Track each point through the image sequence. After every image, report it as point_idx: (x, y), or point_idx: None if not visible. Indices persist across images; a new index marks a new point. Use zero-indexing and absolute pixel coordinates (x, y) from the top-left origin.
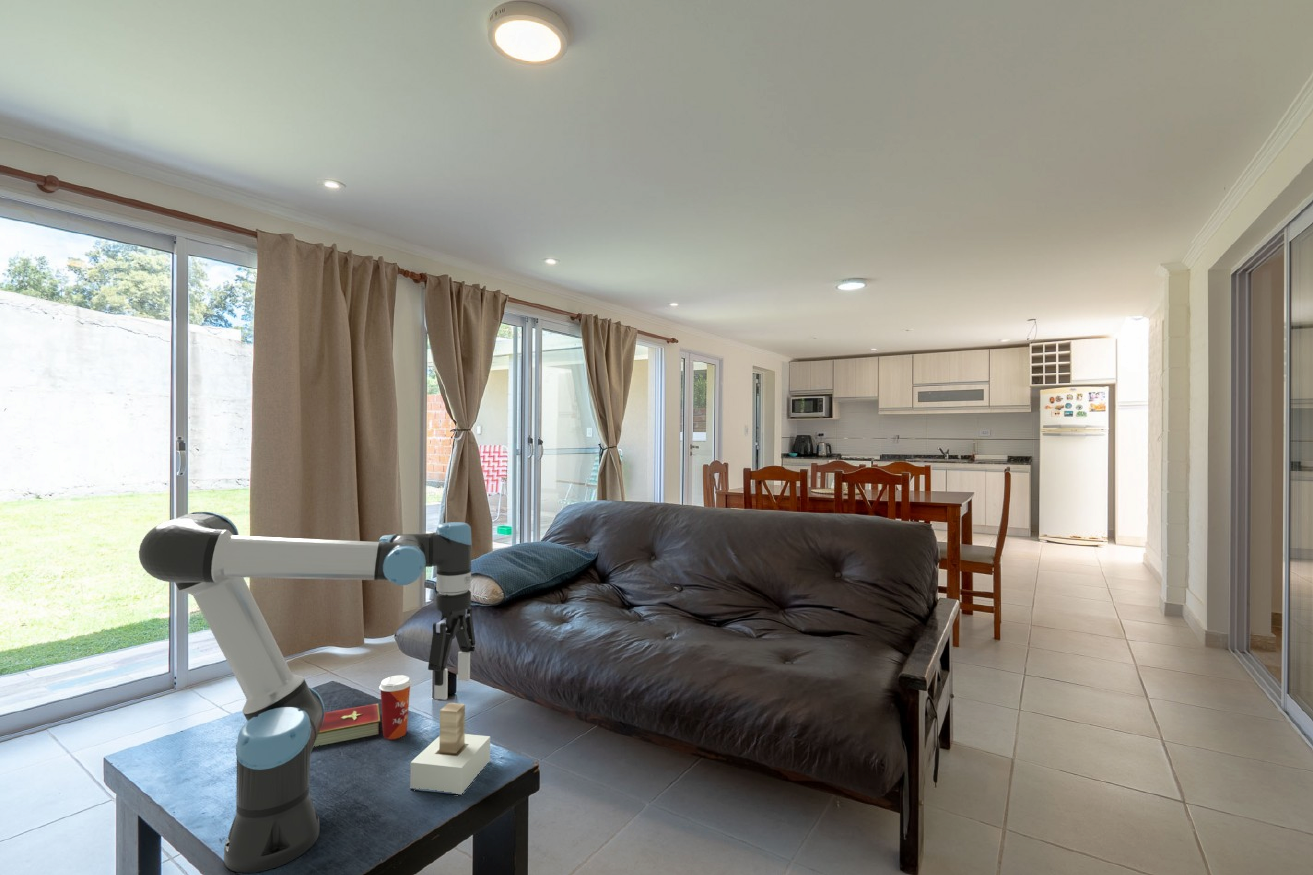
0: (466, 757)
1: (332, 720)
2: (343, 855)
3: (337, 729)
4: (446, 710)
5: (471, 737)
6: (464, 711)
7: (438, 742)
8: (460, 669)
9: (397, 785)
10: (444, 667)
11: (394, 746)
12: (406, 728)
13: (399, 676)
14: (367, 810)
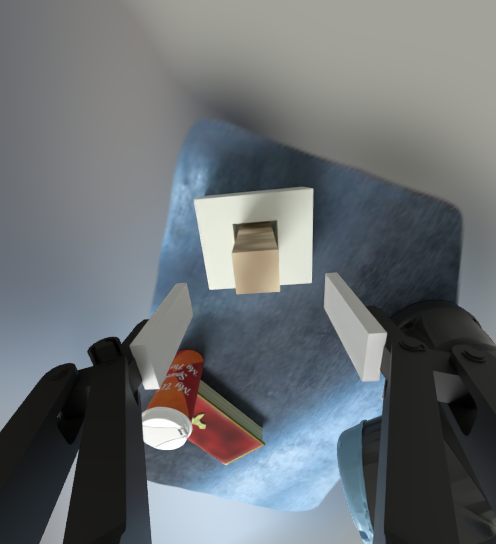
0: (277, 201)
1: (212, 431)
2: (442, 258)
3: (228, 416)
4: (277, 276)
5: (210, 232)
6: (235, 247)
7: None
8: (181, 328)
9: (296, 287)
10: (416, 344)
11: (215, 344)
12: (181, 354)
13: (146, 437)
14: (354, 288)
